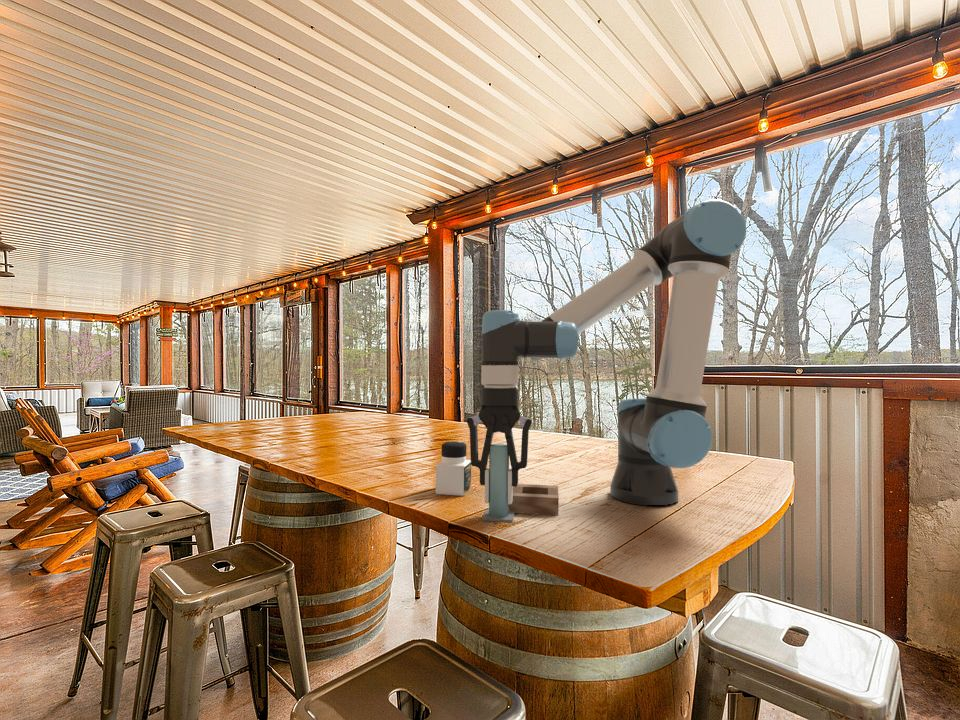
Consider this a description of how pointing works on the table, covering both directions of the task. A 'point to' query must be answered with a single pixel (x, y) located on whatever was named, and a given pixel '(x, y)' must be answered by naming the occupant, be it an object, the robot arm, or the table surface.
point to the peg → (498, 480)
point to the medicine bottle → (453, 470)
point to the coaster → (504, 519)
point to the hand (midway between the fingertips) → (498, 501)
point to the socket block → (535, 499)
